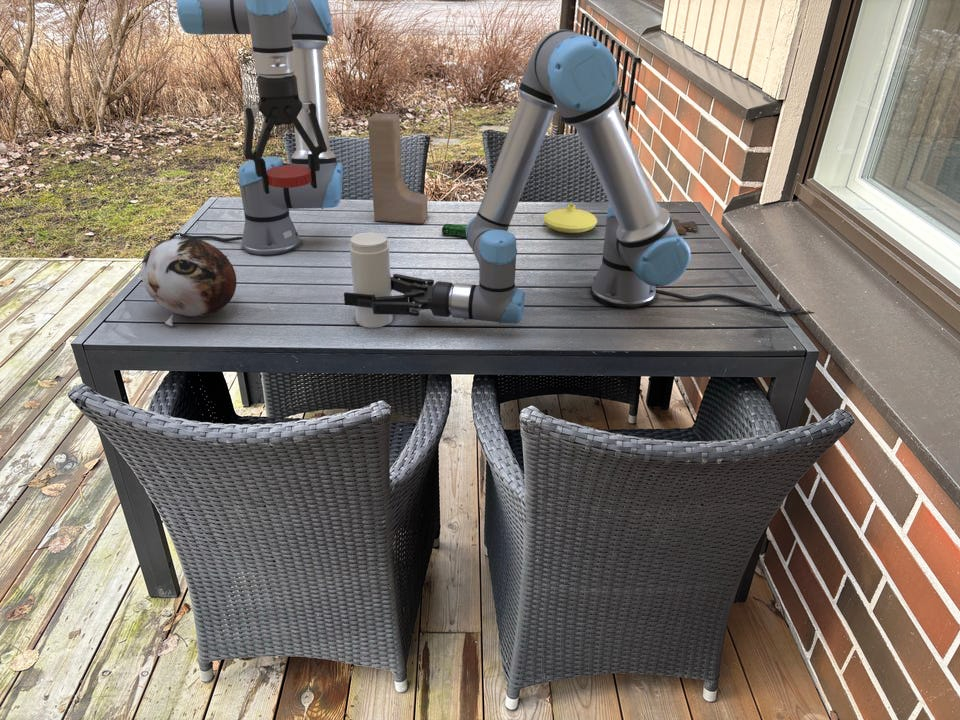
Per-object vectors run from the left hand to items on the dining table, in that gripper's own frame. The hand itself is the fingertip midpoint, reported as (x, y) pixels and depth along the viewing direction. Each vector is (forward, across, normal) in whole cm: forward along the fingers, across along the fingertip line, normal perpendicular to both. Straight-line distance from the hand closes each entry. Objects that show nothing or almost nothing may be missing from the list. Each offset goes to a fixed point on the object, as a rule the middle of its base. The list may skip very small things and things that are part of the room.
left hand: (290, 189), depth 149 cm
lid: (-3, 0, 0) cm, 3 cm away
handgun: (+28, +56, +31) cm, 70 cm away
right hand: (+22, +9, -8) cm, 25 cm away
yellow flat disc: (+28, +83, +23) cm, 91 cm away
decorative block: (+29, +39, +50) cm, 69 cm away
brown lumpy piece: (+28, +106, +14) cm, 111 cm away
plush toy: (+28, -23, +8) cm, 37 cm away
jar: (+28, +13, -10) cm, 33 cm away
